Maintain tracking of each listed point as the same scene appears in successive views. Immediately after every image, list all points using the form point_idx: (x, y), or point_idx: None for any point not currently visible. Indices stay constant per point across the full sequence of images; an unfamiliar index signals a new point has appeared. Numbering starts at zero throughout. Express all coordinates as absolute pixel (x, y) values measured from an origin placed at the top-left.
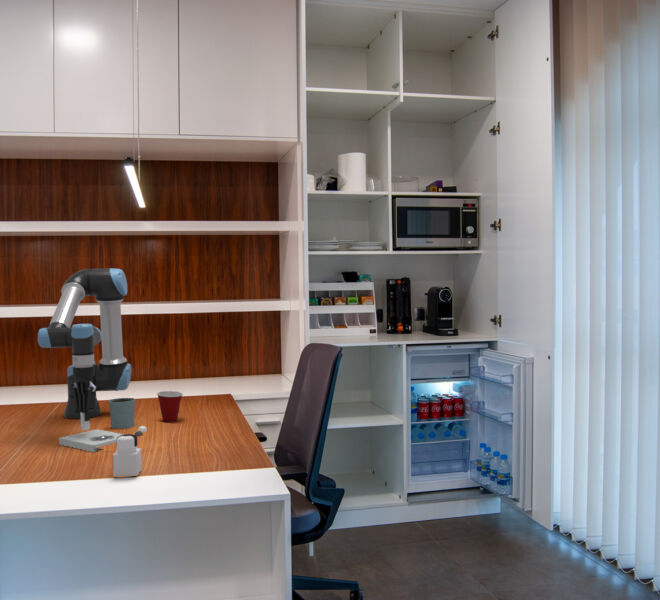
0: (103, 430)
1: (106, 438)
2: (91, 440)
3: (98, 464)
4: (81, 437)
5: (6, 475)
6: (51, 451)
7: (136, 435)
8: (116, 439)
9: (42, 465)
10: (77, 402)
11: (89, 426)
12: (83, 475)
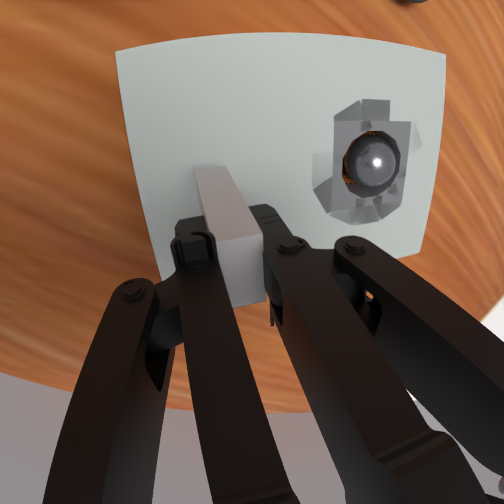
0: (197, 38)
1: (394, 155)
2: (361, 222)
3: (471, 274)
4: None
5: None
6: (254, 330)
7: (421, 2)
8: (440, 140)
9: None
10: (162, 402)
11: (229, 173)
12: (474, 316)
